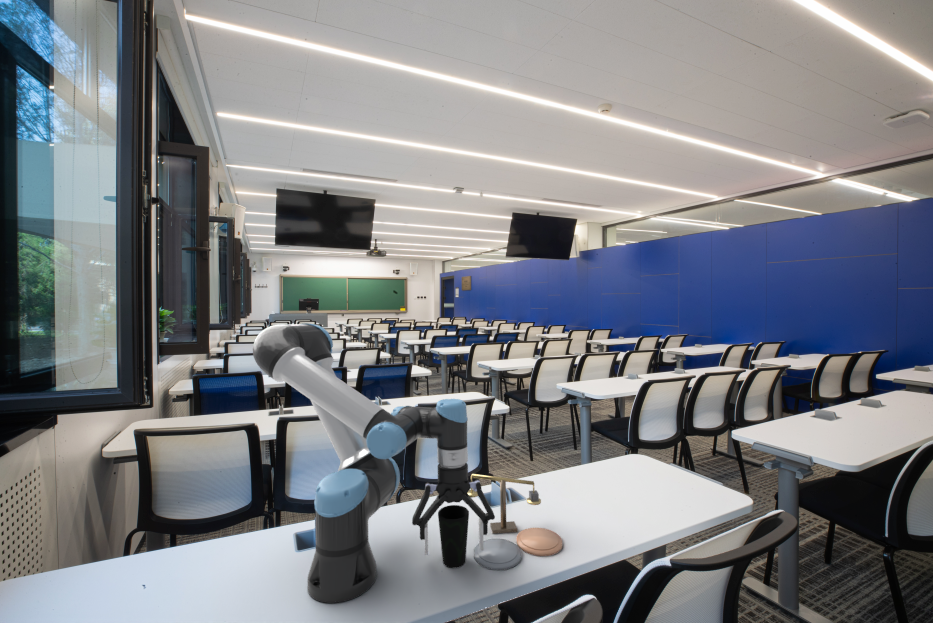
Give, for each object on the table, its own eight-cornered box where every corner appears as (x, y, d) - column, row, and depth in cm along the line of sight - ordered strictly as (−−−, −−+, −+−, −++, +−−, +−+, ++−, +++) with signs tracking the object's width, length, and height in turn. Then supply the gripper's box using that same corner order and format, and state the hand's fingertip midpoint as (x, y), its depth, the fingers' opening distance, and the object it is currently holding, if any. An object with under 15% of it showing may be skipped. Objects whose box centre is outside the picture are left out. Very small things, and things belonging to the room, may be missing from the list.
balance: (466, 535, 110) (465, 477, 111) (464, 528, 114) (463, 471, 115) (543, 530, 113) (542, 472, 113) (539, 522, 117) (538, 467, 117)
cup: (466, 572, 95) (465, 521, 95) (435, 569, 96) (434, 518, 96) (472, 553, 102) (471, 506, 102) (443, 550, 104) (442, 503, 104)
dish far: (522, 558, 100) (522, 553, 100) (512, 532, 112) (512, 528, 112) (569, 554, 101) (569, 549, 101) (553, 529, 113) (553, 525, 113)
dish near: (476, 572, 95) (476, 566, 95) (471, 543, 107) (470, 539, 107) (526, 567, 96) (526, 562, 96) (515, 540, 108) (515, 535, 108)
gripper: (400, 471, 94) (402, 562, 94) (505, 465, 97) (506, 554, 97) (402, 460, 102) (403, 544, 102) (499, 455, 104) (501, 537, 104)
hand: (454, 549), depth 99 cm, fingers open, 13 cm apart
